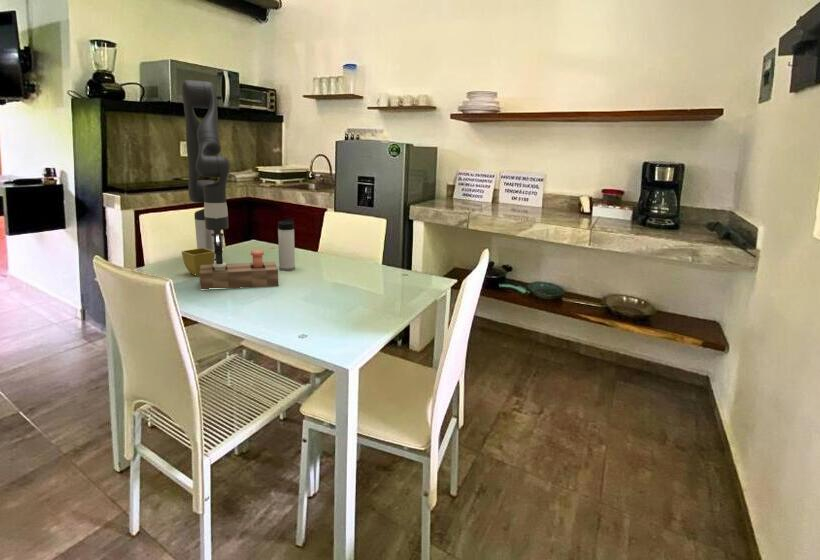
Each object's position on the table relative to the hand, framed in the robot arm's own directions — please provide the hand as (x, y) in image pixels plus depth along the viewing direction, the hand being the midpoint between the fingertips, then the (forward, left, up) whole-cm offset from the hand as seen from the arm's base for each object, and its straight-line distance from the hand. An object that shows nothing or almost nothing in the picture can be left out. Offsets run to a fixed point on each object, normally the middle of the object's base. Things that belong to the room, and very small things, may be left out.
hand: (219, 263), depth 171 cm
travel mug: (-17, +25, -8) cm, 32 cm away
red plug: (0, +13, -3) cm, 13 cm away
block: (0, +6, -8) cm, 10 cm away
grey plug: (0, 0, -7) cm, 7 cm away
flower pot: (-16, -8, -8) cm, 19 cm away
